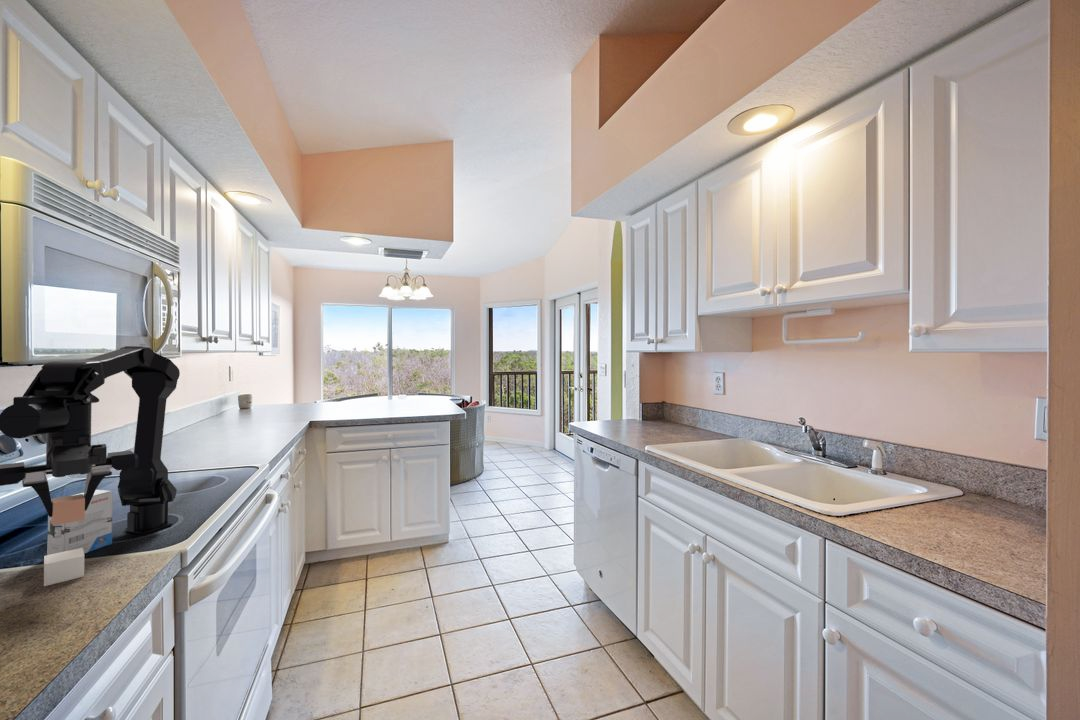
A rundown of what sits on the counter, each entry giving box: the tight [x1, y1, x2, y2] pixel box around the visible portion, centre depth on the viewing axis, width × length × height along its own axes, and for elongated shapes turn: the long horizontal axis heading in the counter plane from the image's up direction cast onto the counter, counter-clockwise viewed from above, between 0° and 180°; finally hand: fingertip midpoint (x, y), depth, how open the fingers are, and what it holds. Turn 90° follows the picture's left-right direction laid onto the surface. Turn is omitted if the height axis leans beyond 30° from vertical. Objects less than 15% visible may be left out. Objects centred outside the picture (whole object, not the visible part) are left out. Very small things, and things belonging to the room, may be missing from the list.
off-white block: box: [43, 548, 85, 587], centre depth 83 cm, size 5×5×4 cm
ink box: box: [46, 489, 114, 555], centre depth 93 cm, size 9×5×12 cm, turn 168°
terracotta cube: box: [51, 493, 85, 526], centre depth 83 cm, size 4×4×4 cm
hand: (68, 513), depth 83 cm, fingers closed on terracotta cube, 4 cm apart
